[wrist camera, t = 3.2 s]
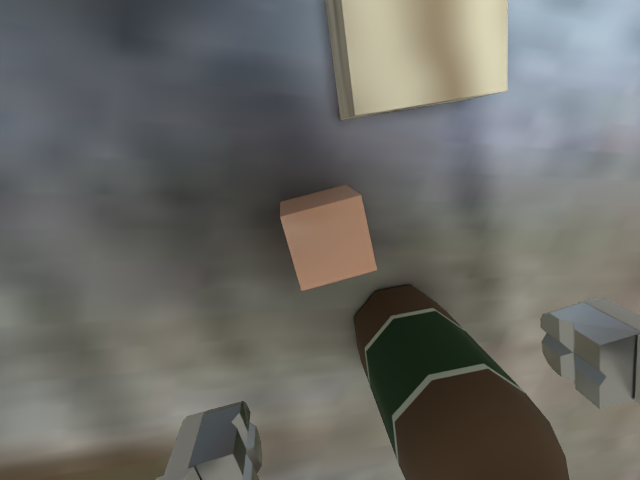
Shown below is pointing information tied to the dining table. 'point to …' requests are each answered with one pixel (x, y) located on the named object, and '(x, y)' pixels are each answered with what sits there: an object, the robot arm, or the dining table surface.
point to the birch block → (416, 52)
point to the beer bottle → (449, 397)
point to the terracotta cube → (327, 236)
